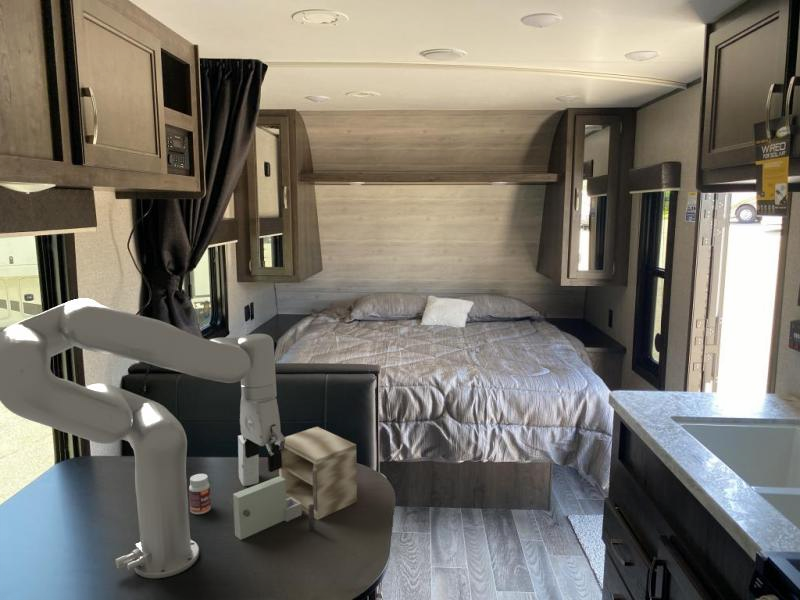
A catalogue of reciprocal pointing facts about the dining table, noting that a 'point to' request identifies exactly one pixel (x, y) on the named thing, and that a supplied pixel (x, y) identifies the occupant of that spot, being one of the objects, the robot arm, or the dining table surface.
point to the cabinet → (319, 472)
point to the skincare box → (247, 465)
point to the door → (263, 507)
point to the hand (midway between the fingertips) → (263, 462)
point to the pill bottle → (199, 494)
